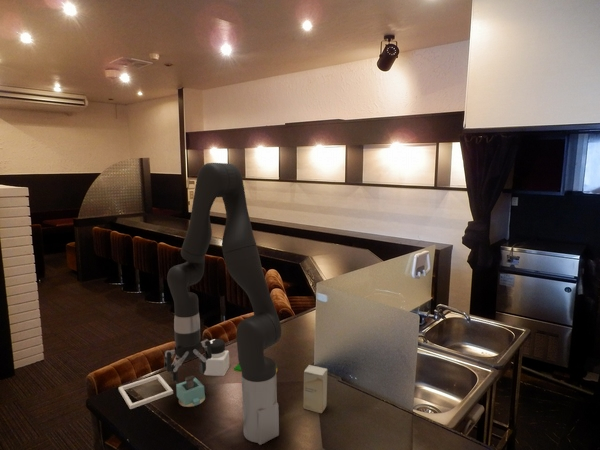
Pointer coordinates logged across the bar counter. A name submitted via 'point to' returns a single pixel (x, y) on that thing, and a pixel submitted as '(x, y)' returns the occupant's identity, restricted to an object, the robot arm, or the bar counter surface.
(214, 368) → the medicine bottle
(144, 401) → the tray
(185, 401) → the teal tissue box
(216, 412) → the bar counter surface
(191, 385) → the peg stand
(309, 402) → the skincare box
